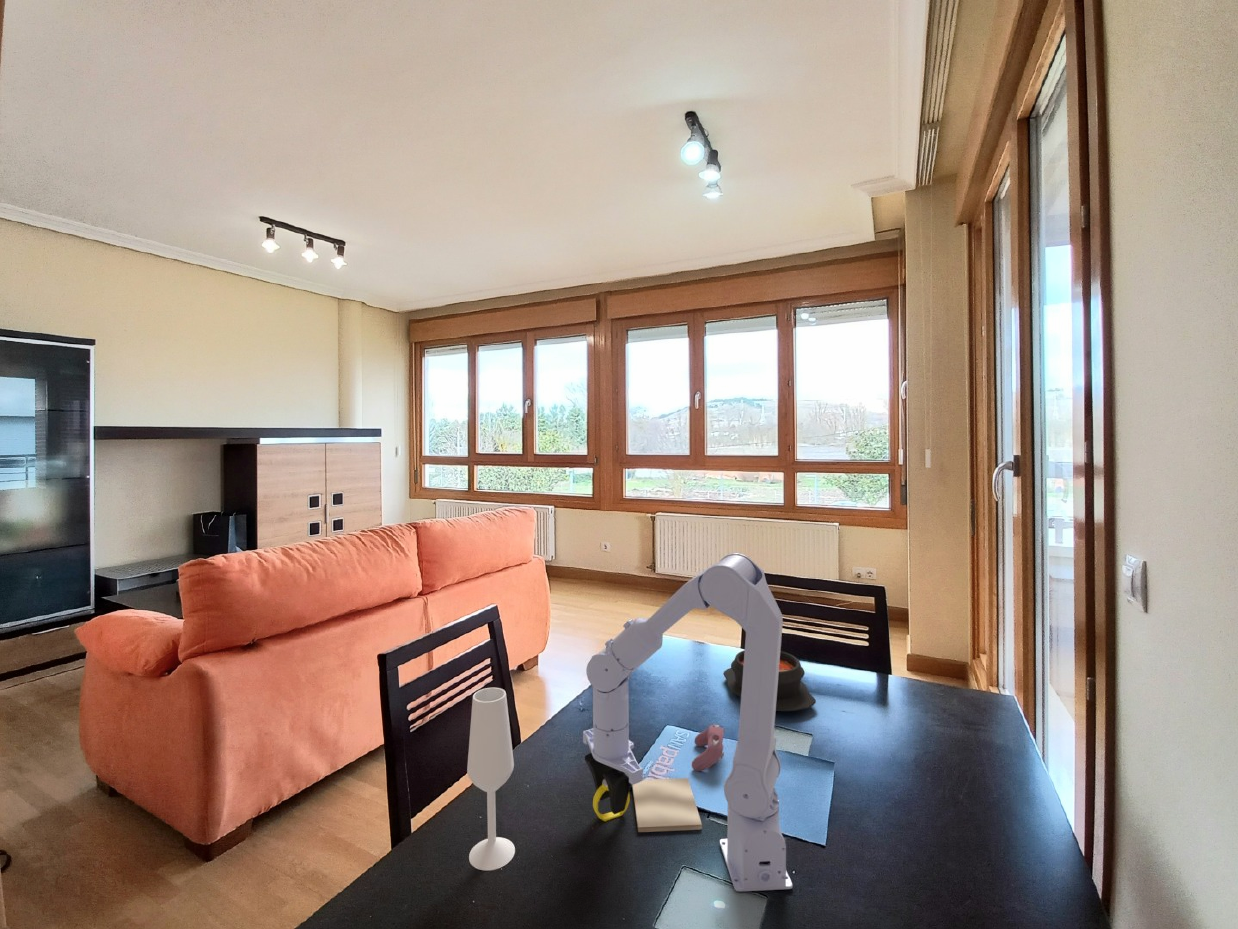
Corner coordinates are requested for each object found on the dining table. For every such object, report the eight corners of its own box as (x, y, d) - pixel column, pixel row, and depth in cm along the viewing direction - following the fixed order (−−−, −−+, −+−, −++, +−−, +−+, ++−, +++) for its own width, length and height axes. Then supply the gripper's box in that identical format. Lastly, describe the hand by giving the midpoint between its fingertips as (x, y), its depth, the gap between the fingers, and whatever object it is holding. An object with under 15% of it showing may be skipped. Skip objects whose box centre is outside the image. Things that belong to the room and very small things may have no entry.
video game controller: (711, 782, 103) (729, 751, 102) (689, 769, 103) (706, 737, 102) (713, 752, 112) (729, 723, 111) (692, 740, 113) (708, 711, 112)
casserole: (835, 710, 126) (836, 673, 126) (767, 726, 119) (768, 688, 119) (766, 667, 149) (766, 636, 149) (705, 679, 142) (705, 647, 142)
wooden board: (701, 829, 88) (701, 824, 88) (638, 832, 88) (638, 827, 87) (688, 782, 100) (688, 778, 100) (632, 784, 99) (632, 780, 99)
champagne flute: (524, 853, 83) (521, 695, 82) (483, 878, 79) (480, 710, 77) (499, 830, 88) (497, 680, 87) (460, 852, 83) (457, 694, 82)
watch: (598, 829, 89) (596, 793, 88) (592, 818, 91) (589, 783, 91) (632, 815, 91) (630, 780, 91) (625, 805, 94) (622, 771, 93)
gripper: (658, 734, 87) (658, 819, 87) (607, 698, 99) (607, 773, 99) (620, 749, 83) (621, 838, 83) (572, 709, 95) (572, 788, 95)
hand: (611, 804), depth 91 cm, fingers open, 3 cm apart
